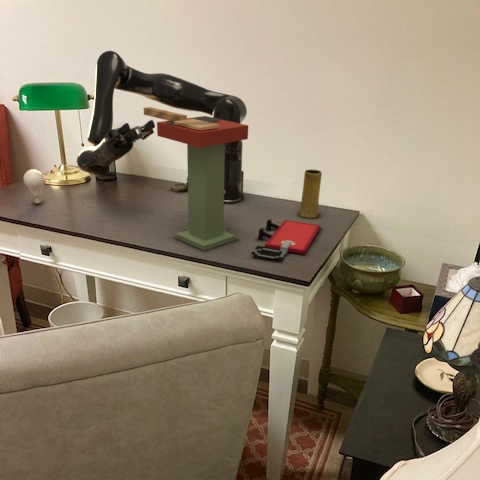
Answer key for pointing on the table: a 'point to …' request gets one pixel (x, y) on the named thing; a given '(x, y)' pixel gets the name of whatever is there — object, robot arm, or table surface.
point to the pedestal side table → (205, 177)
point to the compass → (180, 187)
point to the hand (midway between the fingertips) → (141, 124)
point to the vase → (310, 194)
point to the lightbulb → (34, 184)
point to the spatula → (179, 119)
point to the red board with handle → (286, 239)
